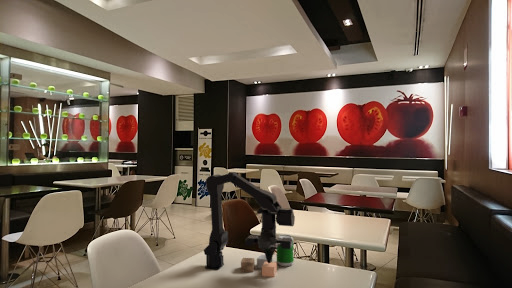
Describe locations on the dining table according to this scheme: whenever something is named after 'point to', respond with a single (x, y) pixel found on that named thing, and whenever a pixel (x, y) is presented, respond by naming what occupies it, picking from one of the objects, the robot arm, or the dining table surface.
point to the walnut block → (247, 265)
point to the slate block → (261, 261)
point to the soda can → (285, 253)
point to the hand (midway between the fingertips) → (269, 262)
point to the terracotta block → (269, 269)
